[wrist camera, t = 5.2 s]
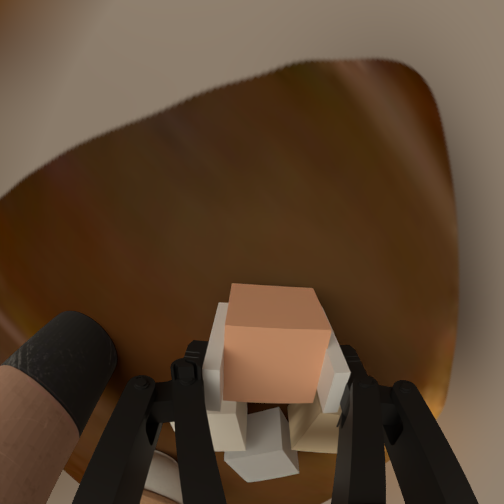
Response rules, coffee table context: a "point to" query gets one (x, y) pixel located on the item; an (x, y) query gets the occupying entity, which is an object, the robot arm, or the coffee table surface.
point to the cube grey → (265, 448)
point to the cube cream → (228, 426)
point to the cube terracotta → (273, 344)
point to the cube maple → (313, 427)
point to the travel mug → (49, 403)
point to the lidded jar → (162, 481)
